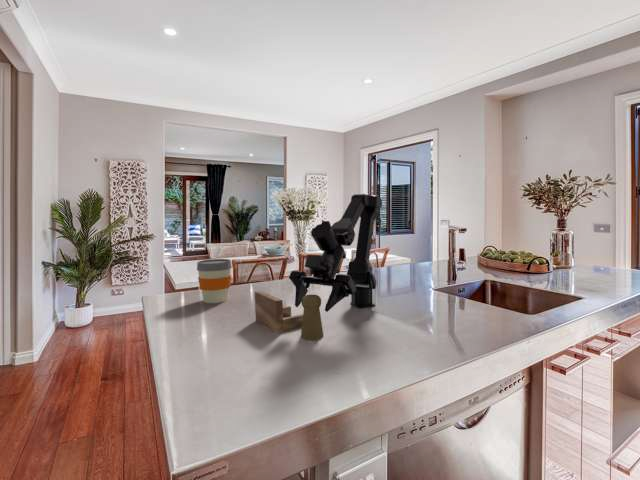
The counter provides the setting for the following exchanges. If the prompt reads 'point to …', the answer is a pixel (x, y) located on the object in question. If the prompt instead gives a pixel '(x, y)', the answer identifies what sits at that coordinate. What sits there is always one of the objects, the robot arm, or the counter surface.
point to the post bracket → (274, 313)
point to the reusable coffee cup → (214, 279)
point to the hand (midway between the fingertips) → (310, 308)
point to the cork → (311, 318)
